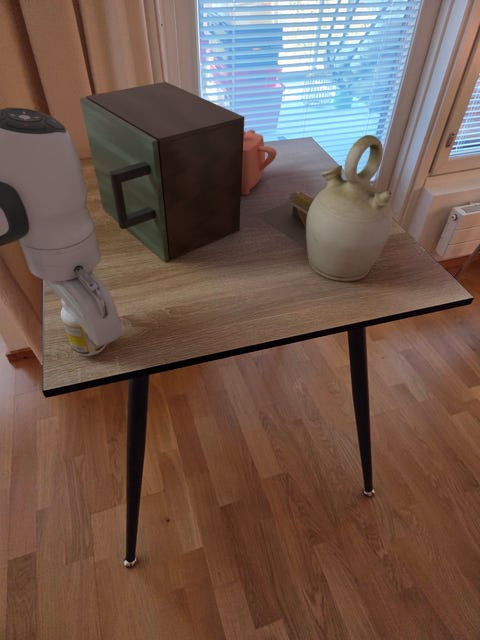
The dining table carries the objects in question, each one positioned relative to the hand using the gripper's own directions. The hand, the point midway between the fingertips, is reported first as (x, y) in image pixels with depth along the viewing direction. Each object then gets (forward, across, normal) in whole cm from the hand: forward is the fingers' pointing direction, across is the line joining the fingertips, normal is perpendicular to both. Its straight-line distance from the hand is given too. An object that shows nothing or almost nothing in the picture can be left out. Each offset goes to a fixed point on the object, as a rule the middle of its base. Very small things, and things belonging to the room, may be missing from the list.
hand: (84, 327), depth 62 cm
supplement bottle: (+4, 0, 0) cm, 4 cm away
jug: (+4, -10, -49) cm, 50 cm away
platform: (+4, +6, -54) cm, 54 cm away
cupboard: (+4, +24, -32) cm, 40 cm away
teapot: (+4, +28, -54) cm, 61 cm away
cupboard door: (+4, +24, -18) cm, 31 cm away
